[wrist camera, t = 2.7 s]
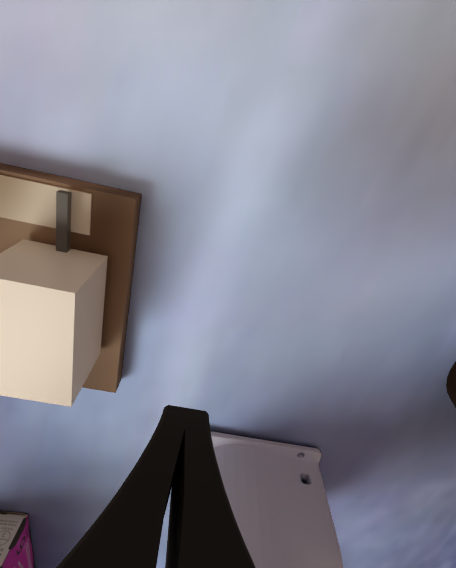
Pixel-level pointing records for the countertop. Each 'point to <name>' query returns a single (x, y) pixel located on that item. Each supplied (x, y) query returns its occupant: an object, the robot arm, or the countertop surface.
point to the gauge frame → (80, 244)
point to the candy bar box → (15, 541)
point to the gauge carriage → (50, 315)
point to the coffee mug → (452, 384)
